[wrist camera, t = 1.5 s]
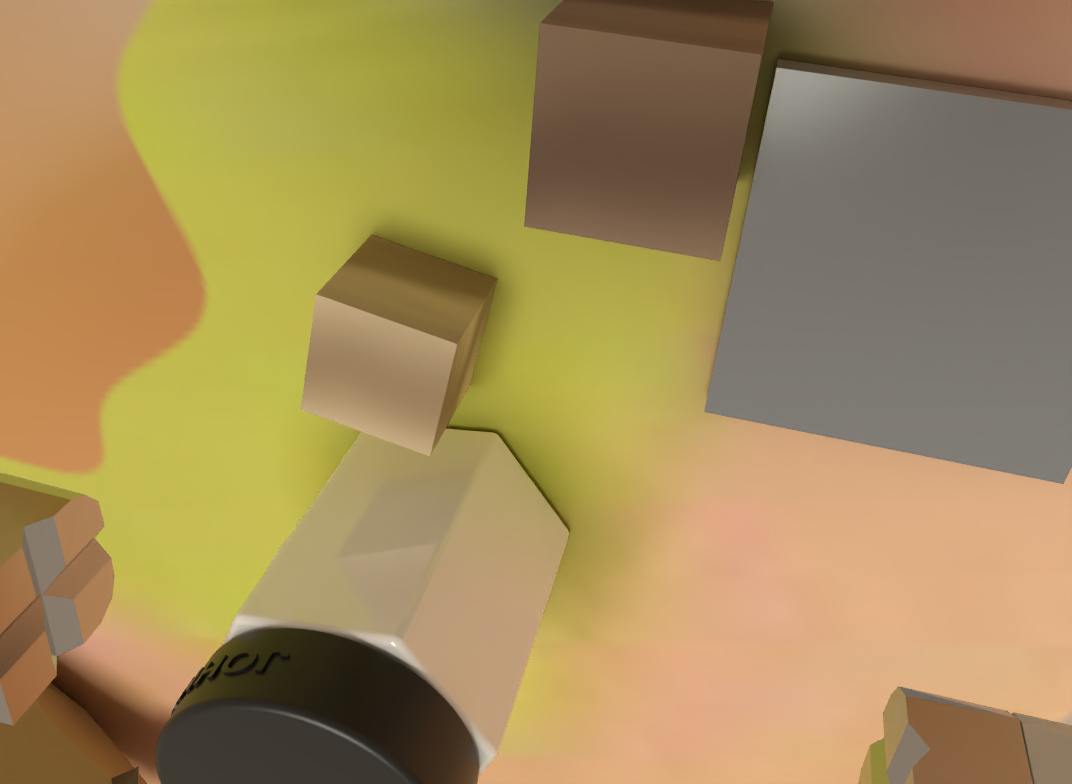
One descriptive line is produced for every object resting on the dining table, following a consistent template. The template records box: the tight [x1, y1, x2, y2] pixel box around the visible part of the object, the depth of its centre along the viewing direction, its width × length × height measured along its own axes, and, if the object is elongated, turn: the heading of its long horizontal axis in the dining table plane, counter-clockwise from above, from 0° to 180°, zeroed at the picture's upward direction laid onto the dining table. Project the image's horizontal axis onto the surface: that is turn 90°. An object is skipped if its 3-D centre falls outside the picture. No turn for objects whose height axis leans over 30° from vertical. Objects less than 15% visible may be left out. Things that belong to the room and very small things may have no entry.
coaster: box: [704, 59, 1072, 484], centre depth 26 cm, size 10×10×1 cm
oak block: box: [301, 235, 497, 456], centre depth 29 cm, size 4×4×4 cm
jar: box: [156, 428, 569, 784], centre depth 30 cm, size 9×8×12 cm
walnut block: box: [524, 0, 773, 261], centre depth 23 cm, size 4×4×5 cm
